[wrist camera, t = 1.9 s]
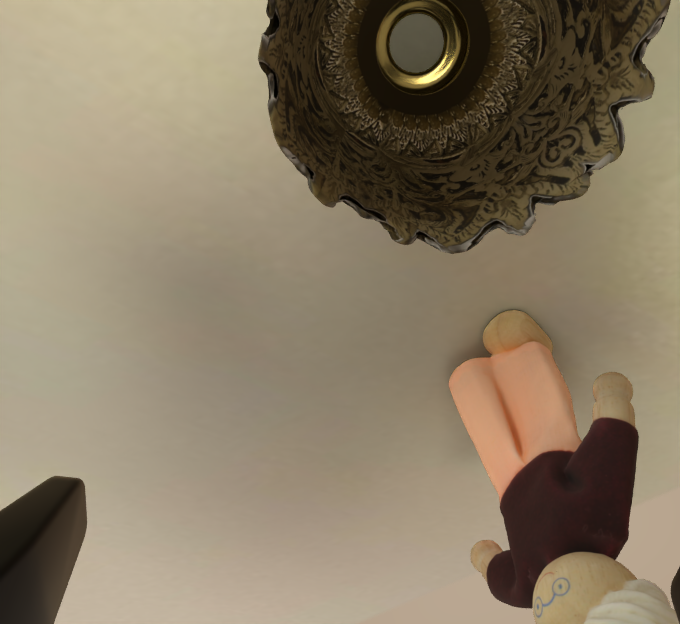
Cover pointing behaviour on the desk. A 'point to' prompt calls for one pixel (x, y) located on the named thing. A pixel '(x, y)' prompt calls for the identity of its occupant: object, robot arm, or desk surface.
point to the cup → (455, 107)
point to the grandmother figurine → (554, 483)
